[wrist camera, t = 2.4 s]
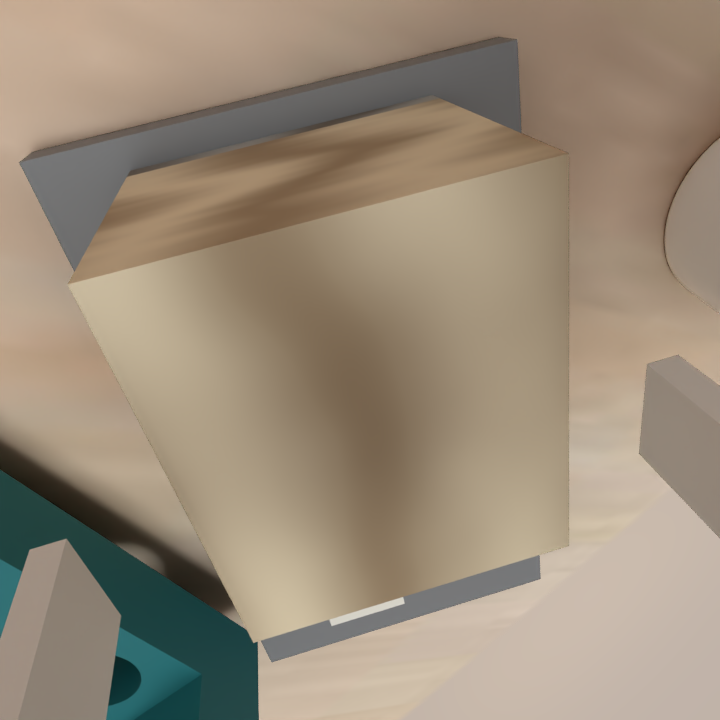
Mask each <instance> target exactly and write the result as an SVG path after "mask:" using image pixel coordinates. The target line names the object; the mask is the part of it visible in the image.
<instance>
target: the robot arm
mask: <svg viewBox="0 0 720 720" xmlns="http://www.w3.org/2000/svg"><path fill="white" fill-rule="evenodd" d="M639 454H640V455H641V456H642V457H643V458H644V459H645V460H646V462H647V463H648V464H649V465H650V466H651V467H652V468H653V469H654V470H655V471H656V472H657V473H658V474H659V475H660V476H661V477H662V478H663V479H664V480H665V481H666V482H667V484H668V485H669V486H670V487H671V488H672V489H673V490H674V491H675V492H676V493H677V494H678V495H679V496H680V497H681V498H682V499H683V500H684V501H685V502H686V503H687V504H688V506H690V507H691V509H692V510H693V511H694V512H695V513H696V514H697V515H698V516H699V517H700V518H701V519H702V520H703V521H704V522H705V523H706V524H707V525H708V526H709V528H711V530H712V531H713V532H714V533H715V534H716V535H717V536H718V537H719V538H720V386H719V385H718V384H716V383H715V382H714V381H712V380H711V379H710V378H708V377H707V376H706V375H704V374H703V373H702V372H700V371H699V370H698V369H696V368H695V367H694V366H692V365H691V364H690V363H688V362H687V361H686V360H684V359H683V358H682V357H680V356H679V355H676V356H672V357H669V358H666V359H663V360H659V361H656V362H653V363H649V364H647V370H646V381H645V392H644V403H643V414H642V425H641V436H640V447H639ZM120 620H121V615H120V613H119V612H118V611H117V609H116V608H115V606H114V605H113V603H112V602H111V601H110V599H109V598H108V596H107V595H106V594H105V592H104V591H103V589H102V588H101V587H100V585H99V584H98V582H97V581H96V580H95V578H94V577H93V575H92V574H91V572H90V571H89V570H88V568H87V567H86V565H85V564H84V563H83V561H82V560H81V558H80V557H79V556H78V554H77V553H76V551H75V550H74V549H73V547H72V546H71V544H70V543H69V541H68V540H67V539H64V540H60V541H57V542H54V543H50V544H47V545H44V546H40V547H37V548H34V549H30V550H29V553H28V556H27V559H26V562H25V565H24V568H23V571H22V574H21V577H20V580H19V583H18V586H17V589H16V592H15V595H14V598H13V601H12V604H11V608H10V611H9V614H8V617H7V620H6V623H5V626H4V629H3V632H2V635H1V638H0V720H106V716H107V709H108V702H109V696H110V689H111V682H112V675H113V668H114V661H115V654H116V647H117V641H118V634H119V627H120Z"/></svg>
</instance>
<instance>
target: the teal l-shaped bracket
mask: <svg viewBox="0 0 720 720" xmlns="http://www.w3.org/2000/svg"><path fill="white" fill-rule="evenodd" d="M64 539H67V540H68V541H69V543H70V544H71V546H72V547H73V549H74V550H75V551H76V553H77V554H78V556H79V557H80V558H81V560H82V561H83V563H84V564H85V565H86V567H87V568H88V570H89V571H90V572H91V574H92V575H93V577H94V578H95V580H96V581H97V582H98V584H99V585H100V587H101V588H102V589H103V591H104V592H105V594H106V595H107V596H108V598H109V599H110V601H111V602H112V603H113V605H114V606H115V608H116V609H117V611H118V612H119V613H120V615H121V620H120V627H119V634H118V641H117V647H116V654H115V661H114V668H113V675H112V682H111V689H110V696H109V702H108V709H107V716H106V720H259V713H258V642H255V643H253V641H252V639H251V637H250V635H249V633H248V631H247V630H246V629H244V628H243V627H241V626H240V625H238V624H236V623H235V622H233V621H232V620H230V619H229V618H227V617H226V616H224V615H223V614H221V613H220V612H218V611H216V610H215V609H213V608H212V607H210V606H209V605H207V604H206V603H204V602H203V601H201V600H200V599H198V598H197V597H195V596H193V595H192V594H190V593H189V592H187V591H186V590H184V589H183V588H181V587H180V586H178V585H177V584H175V583H173V582H172V581H170V580H169V579H167V578H166V577H164V576H163V575H161V574H160V573H158V572H157V571H155V570H154V569H152V568H150V567H149V566H147V565H146V564H144V563H143V562H141V561H140V560H138V559H137V558H135V557H134V556H132V555H130V554H129V553H127V552H126V551H124V550H123V549H121V548H120V547H118V546H117V545H115V544H114V543H112V542H111V541H109V540H107V539H106V538H104V537H103V536H101V535H100V534H98V533H97V532H95V531H94V530H92V529H91V528H89V527H87V526H86V525H84V524H83V523H81V522H80V521H78V520H77V519H75V518H74V517H72V516H71V515H69V514H68V513H66V512H64V511H63V510H61V509H60V508H58V507H57V506H55V505H54V504H52V503H51V502H49V501H48V500H46V499H45V498H43V497H41V496H40V495H38V494H37V493H35V492H34V491H32V490H31V489H29V488H28V487H26V486H25V485H23V484H21V483H20V482H18V481H17V480H15V479H14V478H12V477H11V476H9V475H8V474H6V473H5V472H3V471H2V470H0V638H1V635H2V632H3V629H4V626H5V623H6V620H7V617H8V614H9V611H10V608H11V604H12V601H13V598H14V595H15V592H16V589H17V586H18V583H19V580H20V577H21V574H22V571H23V568H24V565H25V562H26V559H27V556H28V553H29V550H30V549H34V548H37V547H40V546H44V545H47V544H50V543H54V542H57V541H60V540H64Z"/></svg>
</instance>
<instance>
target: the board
mask: <svg viewBox="0 0 720 720" xmlns="http://www.w3.org/2000/svg"><path fill="white" fill-rule="evenodd" d="M430 95H433V96H436V97H438V98H440V99H443V100H445V101H447V102H450V103H452V104H454V105H457V106H459V107H461V108H464V109H466V110H468V111H471V112H473V113H475V114H478V115H480V116H482V117H485V118H487V119H489V120H492V121H494V122H496V123H499V124H501V125H503V126H506V127H508V128H510V129H513V130H515V131H517V132H520V133H521V112H520V89H519V65H518V42H517V39H509V38H501V37H498V38H494V39H490V40H486V41H482V42H478V43H474V44H470V45H465V46H461V47H457V48H453V49H449V50H445V51H441V52H437V53H433V54H429V55H425V56H421V57H417V58H413V59H409V60H405V61H400V62H396V63H392V64H388V65H384V66H380V67H376V68H372V69H368V70H364V71H360V72H356V73H352V74H348V75H344V76H339V77H335V78H331V79H327V80H323V81H319V82H315V83H311V84H307V85H303V86H299V87H295V88H291V89H287V90H283V91H279V92H274V93H270V94H266V95H262V96H258V97H254V98H250V99H246V100H242V101H238V102H234V103H230V104H226V105H222V106H218V107H213V108H209V109H205V110H201V111H197V112H193V113H189V114H185V115H181V116H177V117H173V118H169V119H165V120H161V121H157V122H153V123H148V124H144V125H140V126H136V127H132V128H128V129H124V130H120V131H116V132H112V133H108V134H104V135H100V136H96V137H92V138H88V139H83V140H79V141H75V142H71V143H67V144H63V145H59V146H55V147H51V148H47V149H43V150H39V151H35V152H32V153H31V154H29V155H28V156H27V157H26V158H24V159H23V160H22V161H20V162H19V163H20V165H21V167H22V169H23V171H24V173H25V175H26V177H27V179H28V181H29V183H30V185H31V187H32V189H33V191H34V193H35V195H36V197H37V199H38V201H39V203H40V205H41V207H42V209H43V211H44V212H45V214H46V216H47V218H48V220H49V222H50V224H51V226H52V228H53V230H54V232H55V234H56V236H57V238H58V240H59V242H60V244H61V246H62V248H63V250H64V252H65V254H66V256H67V258H68V260H69V262H70V264H71V266H72V268H73V270H74V272H75V270H76V268H77V266H78V265H79V263H80V261H81V259H82V257H83V255H84V254H85V252H86V250H87V248H88V246H89V245H90V243H91V241H92V239H93V237H94V235H95V234H96V232H97V230H98V228H99V226H100V225H101V223H102V221H103V219H104V217H105V215H106V214H107V212H108V210H109V208H110V206H111V205H112V203H113V201H114V199H115V197H116V195H117V194H118V192H119V190H120V188H121V186H122V185H123V183H124V181H125V179H126V177H127V175H128V174H129V172H130V171H131V170H135V169H139V168H143V167H147V166H151V165H155V164H159V163H163V162H167V161H171V160H175V159H179V158H183V157H187V156H191V155H195V154H199V153H203V152H207V151H211V150H215V149H219V148H223V147H227V146H231V145H235V144H239V143H243V142H247V141H251V140H255V139H259V138H263V137H267V136H270V135H274V134H278V133H282V132H286V131H290V130H294V129H298V128H302V127H306V126H310V125H314V124H318V123H322V122H326V121H330V120H334V119H338V118H342V117H346V116H350V115H354V114H358V113H362V112H366V111H370V110H374V109H378V108H382V107H386V106H390V105H394V104H398V103H402V102H406V101H410V100H414V99H418V98H422V97H426V96H430ZM539 579H540V556H539V555H538V556H535V557H531V558H528V559H525V560H522V561H518V562H515V563H512V564H509V565H505V566H502V567H499V568H496V569H492V570H489V571H486V572H483V573H479V574H476V575H473V576H470V577H466V578H463V579H460V580H456V581H453V582H450V583H447V584H443V585H440V586H437V587H434V588H430V589H427V590H424V591H421V592H417V593H414V594H411V595H408V596H404V597H403V599H404V602H405V604H402V605H399V606H396V607H392V608H389V609H386V610H383V611H379V612H376V613H373V614H370V615H366V616H363V617H360V618H357V619H353V620H350V621H347V622H344V623H340V624H337V625H334V626H331V623H330V620H326V621H323V622H320V623H317V624H313V625H310V626H307V627H304V628H300V629H297V630H294V631H291V632H287V633H284V634H281V635H278V636H274V637H271V638H268V639H265V640H261V642H262V644H263V646H264V648H265V650H266V652H267V654H268V656H269V658H270V660H271V662H274V661H278V660H281V659H284V658H287V657H291V656H294V655H297V654H300V653H303V652H307V651H310V650H313V649H316V648H320V647H323V646H326V645H329V644H332V643H336V642H339V641H342V640H345V639H349V638H352V637H355V636H358V635H361V634H365V633H368V632H371V631H374V630H378V629H381V628H384V627H387V626H390V625H394V624H397V623H400V622H403V621H407V620H410V619H413V618H416V617H419V616H423V615H426V614H429V613H432V612H436V611H439V610H442V609H445V608H448V607H452V606H455V605H458V604H461V603H465V602H468V601H471V600H474V599H477V598H481V597H484V596H487V595H490V594H494V593H497V592H500V591H503V590H506V589H510V588H513V587H516V586H519V585H523V584H526V583H529V582H532V581H535V580H539Z"/></svg>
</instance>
